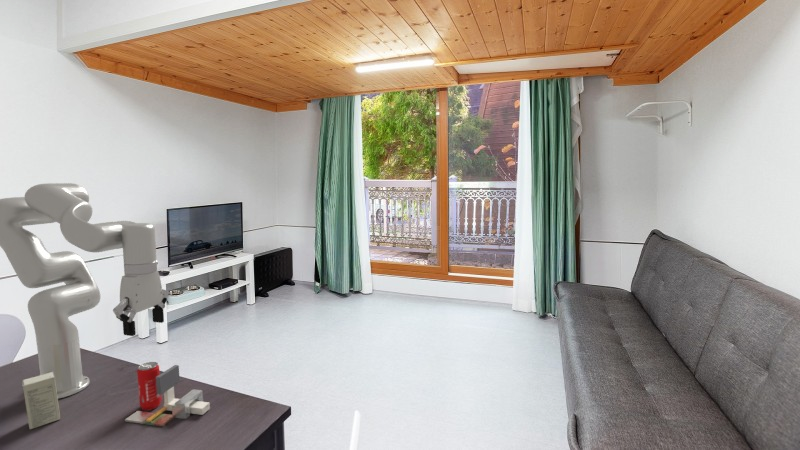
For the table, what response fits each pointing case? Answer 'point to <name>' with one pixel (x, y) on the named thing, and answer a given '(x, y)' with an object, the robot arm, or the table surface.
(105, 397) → the table surface
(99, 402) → the table surface
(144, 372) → the beverage can
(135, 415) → the bench
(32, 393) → the skincare box
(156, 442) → the table surface
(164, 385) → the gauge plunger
